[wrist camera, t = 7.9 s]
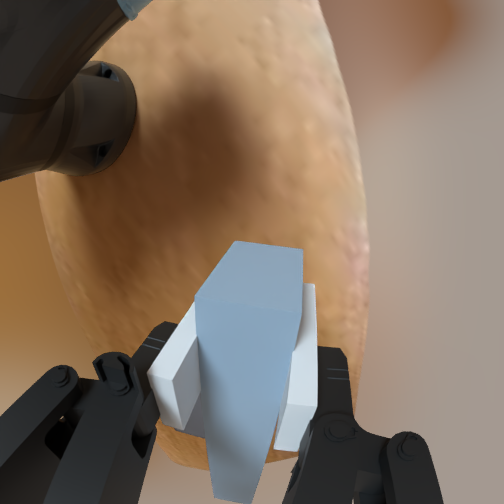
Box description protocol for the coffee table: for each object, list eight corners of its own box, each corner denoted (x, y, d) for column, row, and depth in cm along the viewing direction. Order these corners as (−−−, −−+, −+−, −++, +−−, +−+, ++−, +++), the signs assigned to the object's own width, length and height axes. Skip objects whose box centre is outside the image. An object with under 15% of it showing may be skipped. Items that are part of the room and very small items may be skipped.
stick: (234, 240, 12) (194, 296, 8) (302, 249, 12) (301, 313, 7) (227, 453, 19) (214, 497, 15) (260, 459, 19) (250, 504, 14)
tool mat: (162, 377, 42) (161, 380, 41) (200, 388, 41) (199, 390, 40) (176, 428, 48) (175, 430, 48) (206, 436, 48) (206, 438, 47)
